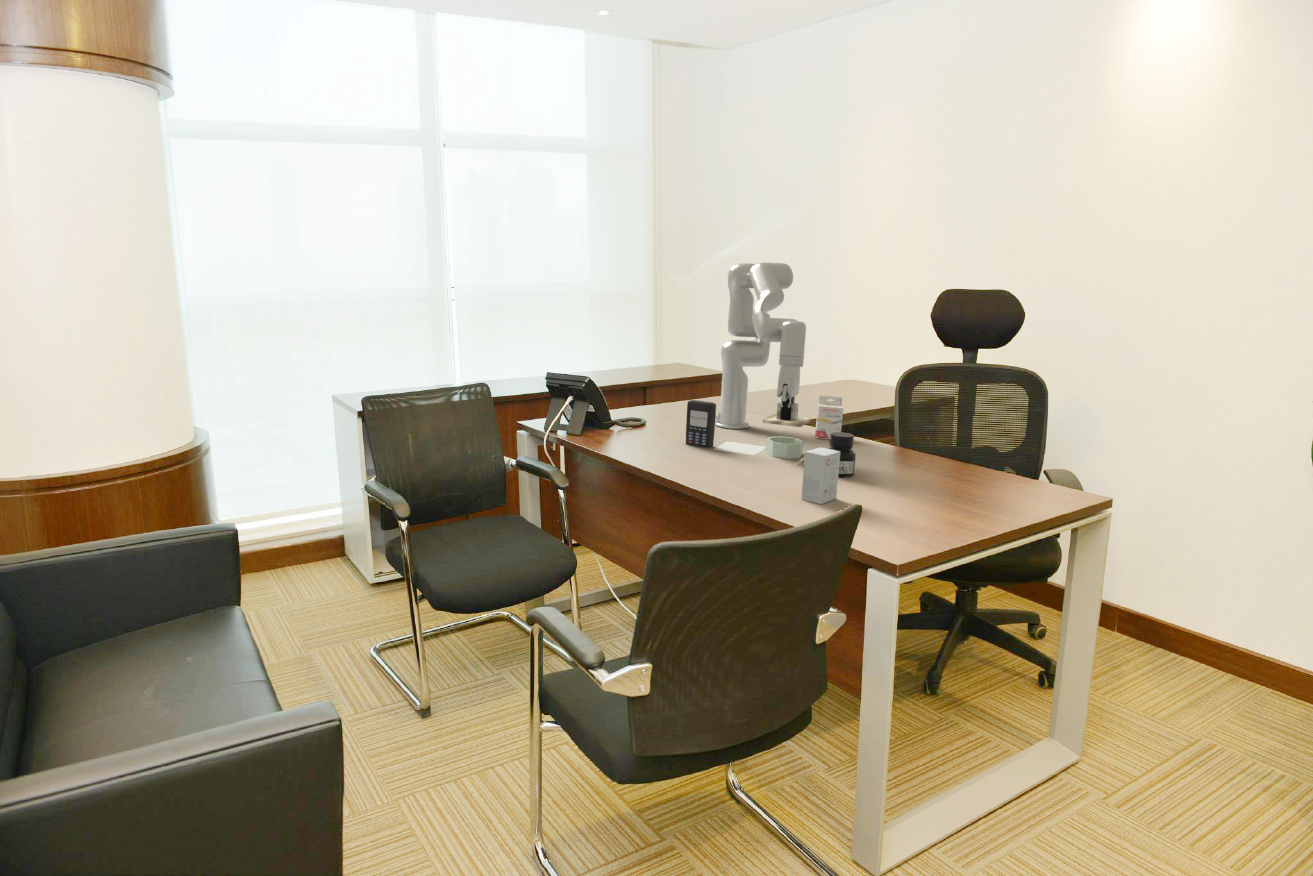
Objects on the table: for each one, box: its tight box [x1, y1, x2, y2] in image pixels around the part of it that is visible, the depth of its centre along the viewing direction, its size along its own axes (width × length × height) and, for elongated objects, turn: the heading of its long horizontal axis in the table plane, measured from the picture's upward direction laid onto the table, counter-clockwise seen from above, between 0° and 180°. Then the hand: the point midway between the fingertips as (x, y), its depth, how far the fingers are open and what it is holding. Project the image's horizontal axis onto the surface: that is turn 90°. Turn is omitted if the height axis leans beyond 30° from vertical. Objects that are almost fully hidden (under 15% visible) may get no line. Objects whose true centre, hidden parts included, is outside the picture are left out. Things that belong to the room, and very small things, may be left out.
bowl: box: [764, 435, 804, 459], centre depth 274 cm, size 11×11×5 cm
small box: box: [801, 447, 840, 505], centre depth 225 cm, size 8×6×13 cm
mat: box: [712, 441, 766, 456], centre depth 280 cm, size 14×14×1 cm
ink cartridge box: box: [814, 395, 844, 439], centre depth 303 cm, size 9×5×15 cm, turn 84°
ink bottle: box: [828, 431, 857, 478], centre depth 252 cm, size 10×9×12 cm
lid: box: [762, 401, 811, 428], centre depth 271 cm, size 12×12×6 cm
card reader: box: [685, 399, 717, 449], centre depth 279 cm, size 9×4×15 cm, turn 62°
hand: (786, 418), depth 271 cm, fingers closed on lid, 3 cm apart
